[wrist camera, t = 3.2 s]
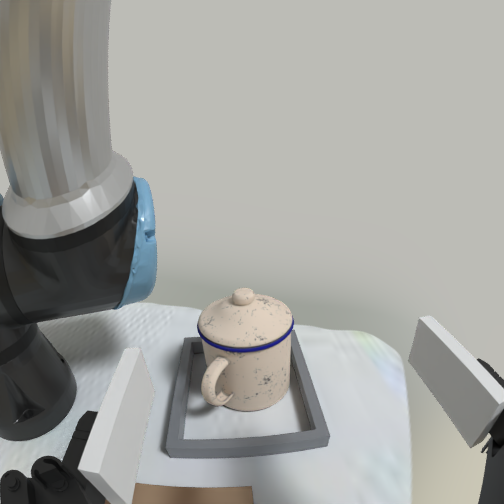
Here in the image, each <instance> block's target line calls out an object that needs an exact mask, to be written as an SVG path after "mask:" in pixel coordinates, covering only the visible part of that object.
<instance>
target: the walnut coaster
mask: <svg viewBox="0 0 504 504" xmlns="http://www.w3.org/2000/svg"><path fill="white" fill-rule="evenodd" d="M105 504H111V503H110V502H109V501H108V500H107V499H106V500H105ZM132 504H253V495H252V486H246V487H224V488H195V487H172V486H159V485H149V484H140V483H135V488H134V493H133V499H132Z"/></svg>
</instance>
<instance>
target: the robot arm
mask: <svg viewBox="0 0 504 504" xmlns="http://www.w3.org/2000/svg"><path fill="white" fill-rule="evenodd" d="M110 5H111V0H0V150H1V154H2V158H3V161H4V165H5V169H6V172H7V175H8V178H9V182H10V186H9V188H8V190H7V192H6V195H5V197H4V199H3V197H2V195H1V194H0V437H2V438H4V439H8V440H13V441H23V440H29V439H33V438H36V437H39V436H41V435H43V434H45V433H47V432H48V431H50V430H51V429H53V428H54V427H55V426H57V425H58V424H59V423H60V422H61V421H62V420H63V419H64V418H65V416H66V415H67V414H68V412H69V411H70V409H71V407H72V405H73V403H74V400H75V397H76V391H77V385H76V380H75V377H74V375H73V373H72V371H71V369H70V367H69V365H68V363H67V362H66V360H65V359H64V358H63V357H62V356H61V355H60V354H59V353H58V352H57V351H56V349H55V348H54V347H53V346H52V344H51V343H50V342H49V341H48V339H47V338H46V337H45V336H44V335H43V334H42V332H41V331H40V330H39V328H38V325H37V323H38V322H42V321H48V320H54V319H60V318H66V317H71V316H77V315H83V314H88V313H94V312H99V311H105V310H110V309H113V310H115V309H119V308H121V307H123V306H124V305H128V304H131V303H135V302H139V301H142V300H144V299H146V298H147V297H148V296H149V295H150V294H151V292H152V290H153V288H154V286H155V281H156V271H157V247H156V246H157V245H156V239H155V236H154V235H155V215H154V207H153V200H152V194H151V190H150V187H149V184H148V182H147V181H146V180H145V179H143V178H137V177H133V171H132V167H131V165H130V163H129V162H128V161H127V160H126V159H125V158H124V157H123V156H122V155H120V154H118V153H116V152H115V151H113V150H112V146H111V135H110V120H109V99H108V38H109V37H108V35H109V19H110ZM408 361H409V363H410V364H411V365H412V367H413V368H414V369H415V370H416V372H417V373H418V375H419V376H420V378H421V379H422V380H423V382H424V383H425V384H426V386H427V387H428V388H429V390H430V391H431V392H432V394H433V395H434V397H435V398H436V399H437V401H438V402H439V404H440V405H441V406H442V408H443V409H444V411H445V412H446V413H447V415H448V416H449V418H450V419H451V421H452V422H453V424H454V425H455V426H456V428H457V429H458V431H459V432H460V434H461V435H462V437H463V438H464V440H465V441H466V443H467V444H468V445H469V447H470V448H472V447H474V446H475V445H477V444H479V443H481V442H482V441H483V440H484V438H485V437H486V436H487V434H488V433H490V435H491V438H490V439H489V441H488V442H487V443H486V445H485V446H484V447H483V448H482V451H481V453H483V452H484V451H485V449H486V448H487V447H488V450H487V452H486V453H487V460H486V466H485V473H484V478H483V484H482V489H481V494H480V498H479V502H478V504H504V380H503V379H502V378H501V377H499V375H498V374H497V373H496V372H494V369H493V368H492V367H490V365H489V364H487V363H486V362H484V361H482V360H481V359H477V360H476V359H475V358H474V357H473V356H472V355H471V354H470V353H469V352H468V351H467V350H466V349H465V348H464V347H463V346H462V345H461V344H460V343H459V342H458V341H457V340H456V339H455V338H454V337H453V336H452V335H451V334H450V333H449V332H448V331H447V330H446V329H445V328H444V327H443V326H442V325H441V324H440V323H439V322H438V321H436V320H435V319H434V318H433V317H432V316H431V315H429V316H424V317H420V318H419V320H418V325H417V329H416V333H415V337H414V341H413V345H412V349H411V352H410V355H409V359H408ZM154 395H155V389H154V386H153V383H152V381H151V378H150V375H149V372H148V369H147V366H146V362H145V359H144V356H143V353H142V350H141V348H125V350H124V352H123V355H122V357H121V359H120V361H119V364H118V366H117V368H116V371H115V373H114V375H113V378H112V380H111V382H110V385H109V387H108V390H107V392H106V394H105V397H104V399H103V402H102V404H101V407H100V409H99V412H94V411H87V412H86V413H85V414H84V415H83V416H82V417H81V418H80V419H79V421H78V424H77V426H76V428H75V431H74V433H73V436H72V439H71V441H70V443H69V446H68V448H67V451H66V453H65V456H64V458H63V461H62V462H61V461H60V460H59V459H57V458H56V457H53V456H44V457H41V458H39V459H38V460H36V461H35V463H34V464H33V466H32V469H31V475H32V478H27V477H26V476H25V475H24V474H23V473H21V472H19V471H18V470H10V471H7V472H6V473H4V474H3V476H2V478H1V480H0V500H1V504H105V500H106V499H107V500H108V501H109V502H110V503H111V504H132V499H133V493H134V488H135V482H136V477H137V472H138V467H139V462H140V457H141V452H142V447H143V443H144V438H145V433H146V429H147V425H148V420H149V416H150V412H151V407H152V403H153V399H154Z"/></svg>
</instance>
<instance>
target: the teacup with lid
mask: <svg viewBox="0 0 504 504" xmlns="http://www.w3.org/2000/svg"><path fill="white" fill-rule="evenodd" d="M293 325H294V320H293V316H292V314H291V311H290V310H289V308H288V307H287V306H286V305H285V304H284V303H282V302H281V301H279V300H277V299H275V298H272V297H269V296H265V295H259V294H254V292H253V291H252V290H251V289H249V288H239V289H237V290H235V291H234V292H233V294H232V296H228V297H225V298H222V299H219V300H217V301H215V302H213V303H211V304H210V305H209V306H207V307H206V308H205V309H204V310H203V311H202V313H201V315H200V317H199V320H198V324H197V329H198V333H199V335H200V337H201V338H202V344H203V349H204V355H205V361H206V366H207V369H206V371H205V373H204V376H203V379H202V383H201V392H202V395H203V398H204V399H205V401H206V402H208V403H209V404H211V405H214V406H222V405H225V406H227V407H229V408H232V409H235V410H240V411H256V410H261V409H265V408H268V407H270V406H272V405H274V404H276V403H277V402H278V401H280V400H281V399H282V398H283V397H284V395H285V394H286V392H287V390H288V388H289V381H290V351H291V331H292V329H293Z"/></svg>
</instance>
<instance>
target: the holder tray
mask: <svg viewBox="0 0 504 504" xmlns="http://www.w3.org/2000/svg"><path fill="white" fill-rule="evenodd" d="M194 353H204V349H203V344H202V338H201V337H191V338H184V343H183V348H182V353H181V359H180V364H179V369H178V375H177V380H176V386H175V392H174V397H173V403H172V409H171V415H170V422H169V428H168V434H167V441H166V450H167V452H168V454H169V456H170V458H235V457H251V456H263V455H272V454H281V453H289V452H296V451H303V450H309V449H315V448H320V447H325V446H328V442H329V438H330V434H329V431H328V428H327V425H326V422H325V419H324V416H323V413H322V410H321V407H320V404H319V401H318V398H317V395H316V392H315V389H314V386H313V383H312V380H311V377H310V374H309V371H308V368H307V365H306V362H305V359H304V356H303V353H302V350H301V348H300V345H299V342H298V339H297V336H296V333H295V330H292V331H291V351H290V356H291V359H292V363H293V366H294V370H295V373H296V377H297V380H298V384H299V387H300V391H301V394H302V398H303V401H304V405H305V408H306V412H307V415H308V419H309V423H310V426H311V430H309V431H302V432H296V433H288V434H280V435H272V436H262V437H250V438H235V439H206V440H187V439H183V436H184V427H185V418H186V409H187V401H188V392H189V384H190V377H191V369H192V362H193V354H194Z"/></svg>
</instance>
